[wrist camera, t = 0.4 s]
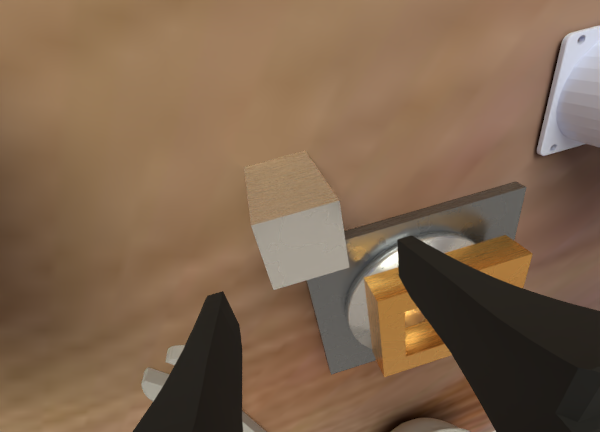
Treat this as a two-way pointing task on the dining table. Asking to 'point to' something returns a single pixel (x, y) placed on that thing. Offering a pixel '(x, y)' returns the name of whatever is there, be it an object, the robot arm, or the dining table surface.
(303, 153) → the rectangular block
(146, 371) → the adjustable wrench
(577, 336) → the robot arm
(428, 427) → the dish
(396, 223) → the bracket rosette
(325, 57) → the dining table surface
